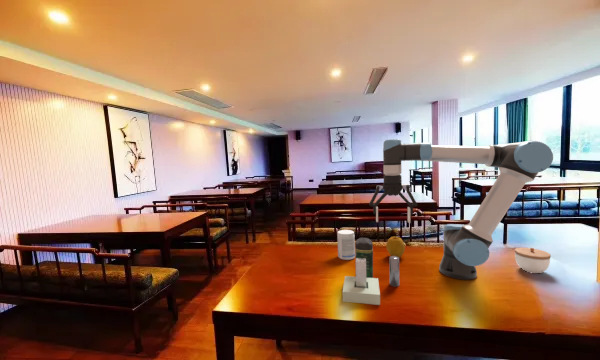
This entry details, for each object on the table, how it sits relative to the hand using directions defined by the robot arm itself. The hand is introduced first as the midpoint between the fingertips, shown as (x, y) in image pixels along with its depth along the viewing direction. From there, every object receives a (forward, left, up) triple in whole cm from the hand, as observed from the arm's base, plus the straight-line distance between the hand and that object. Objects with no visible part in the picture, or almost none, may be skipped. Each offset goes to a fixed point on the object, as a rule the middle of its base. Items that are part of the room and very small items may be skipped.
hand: (392, 221), depth 117 cm
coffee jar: (+13, +1, -27) cm, 30 cm away
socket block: (+14, +16, -27) cm, 34 cm away
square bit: (+14, +16, -26) cm, 34 cm away
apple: (-4, -28, -27) cm, 39 cm away
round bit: (0, +5, -27) cm, 27 cm away
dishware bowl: (-64, -20, -27) cm, 72 cm away
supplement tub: (+23, -24, -27) cm, 43 cm away
